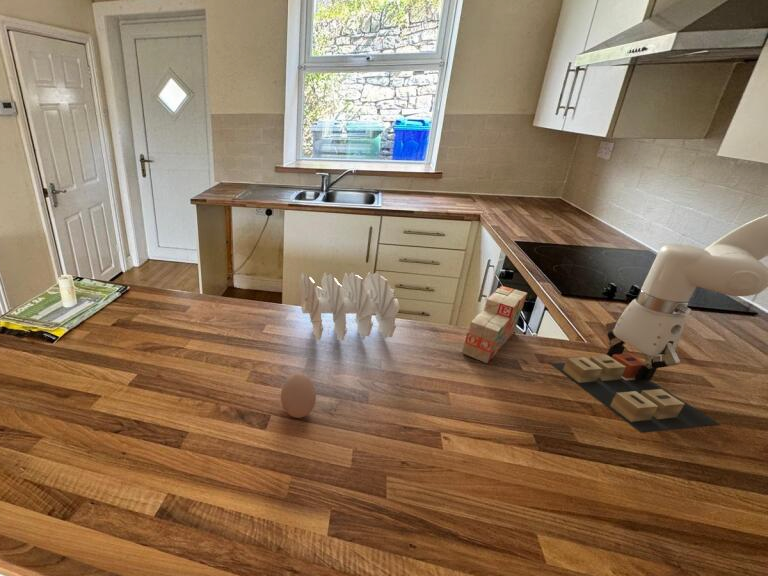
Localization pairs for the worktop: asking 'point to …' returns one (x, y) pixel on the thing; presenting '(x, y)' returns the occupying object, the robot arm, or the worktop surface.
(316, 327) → the white pleated sculpture
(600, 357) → the word tiles
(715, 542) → the worktop surface
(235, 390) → the worktop surface
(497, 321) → the stack of blocks
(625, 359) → the orange toy block
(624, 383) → the letter mat
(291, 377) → the egg
